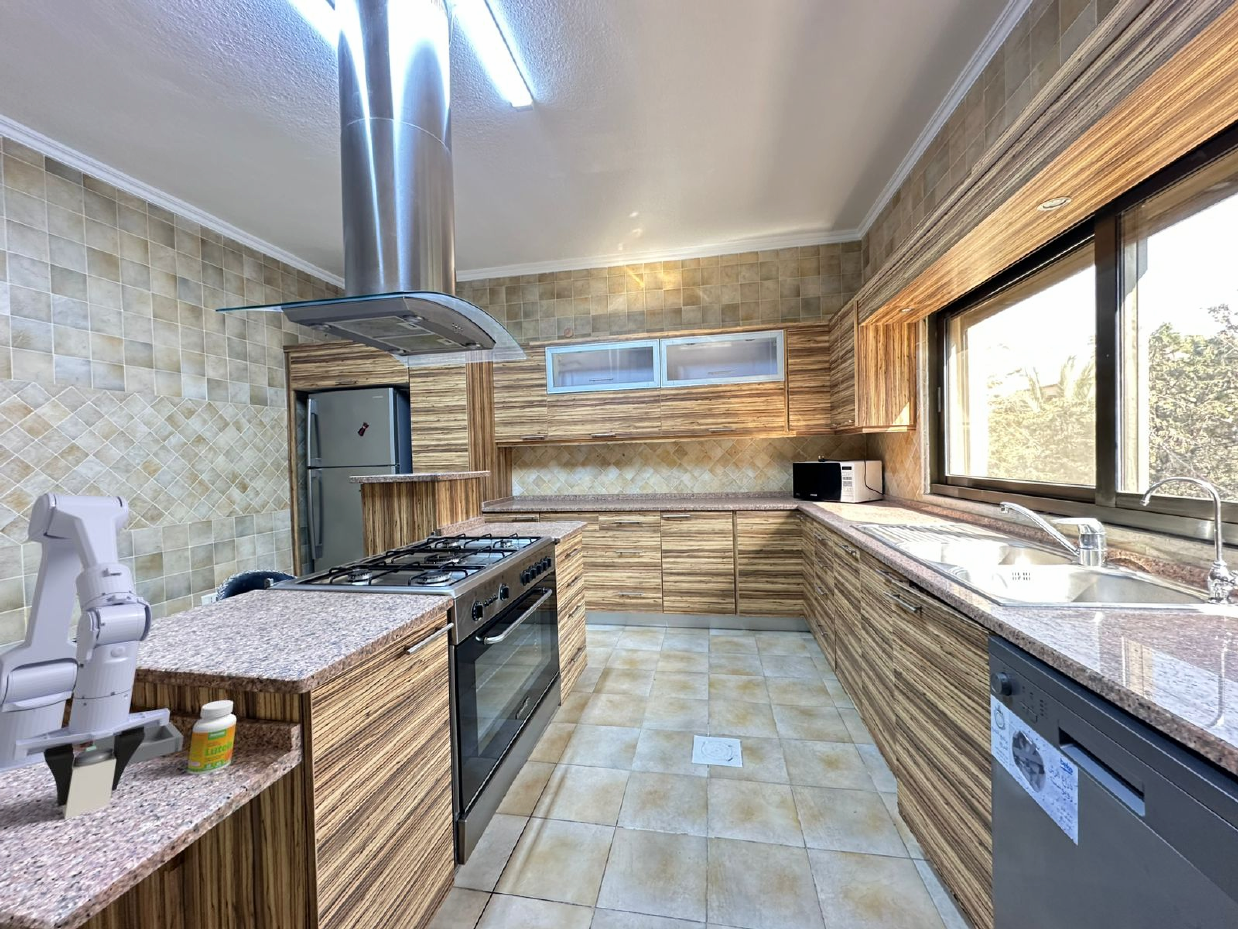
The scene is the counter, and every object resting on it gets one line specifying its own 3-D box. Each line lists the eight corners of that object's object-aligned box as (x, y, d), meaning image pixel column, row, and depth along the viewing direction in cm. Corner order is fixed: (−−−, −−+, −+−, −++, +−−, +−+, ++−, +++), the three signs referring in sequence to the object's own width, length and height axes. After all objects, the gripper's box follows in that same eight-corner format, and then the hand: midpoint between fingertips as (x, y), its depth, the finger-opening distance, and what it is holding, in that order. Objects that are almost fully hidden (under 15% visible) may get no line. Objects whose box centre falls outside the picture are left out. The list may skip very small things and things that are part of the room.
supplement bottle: (201, 779, 73) (209, 713, 74) (178, 772, 74) (187, 707, 76) (238, 763, 78) (246, 701, 79) (217, 757, 79) (224, 696, 81)
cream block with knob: (61, 808, 64) (70, 754, 65) (104, 795, 67) (112, 744, 68) (64, 819, 62) (74, 764, 63) (109, 805, 65) (117, 753, 66)
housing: (76, 758, 78) (79, 742, 78) (167, 735, 87) (169, 721, 87) (91, 797, 67) (94, 779, 67) (193, 767, 76) (196, 750, 76)
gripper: (23, 714, 58) (2, 834, 57) (179, 685, 70) (165, 783, 68) (20, 700, 63) (0, 811, 61) (168, 675, 74) (154, 767, 72)
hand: (87, 795), depth 65 cm, fingers closed on cream block with knob, 4 cm apart
